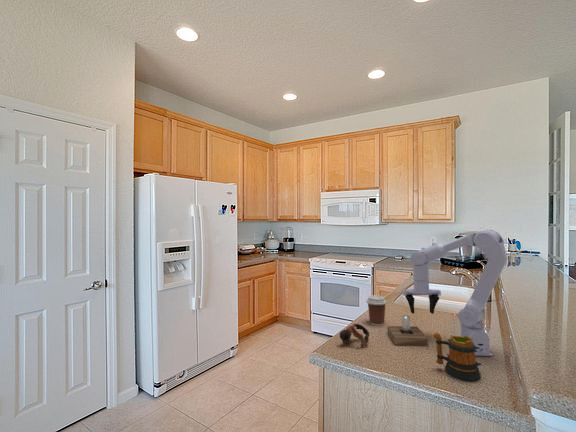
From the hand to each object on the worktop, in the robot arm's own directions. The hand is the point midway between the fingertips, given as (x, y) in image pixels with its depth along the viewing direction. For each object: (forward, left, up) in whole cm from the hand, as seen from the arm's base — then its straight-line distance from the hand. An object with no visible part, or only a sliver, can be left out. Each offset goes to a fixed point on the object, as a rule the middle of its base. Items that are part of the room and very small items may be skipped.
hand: (422, 312), depth 120 cm
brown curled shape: (-9, +29, -10) cm, 32 cm away
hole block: (-4, +8, -9) cm, 13 cm away
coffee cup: (+14, +16, -10) cm, 23 cm away
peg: (-4, +8, -9) cm, 13 cm away
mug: (-29, 0, -10) cm, 30 cm away
